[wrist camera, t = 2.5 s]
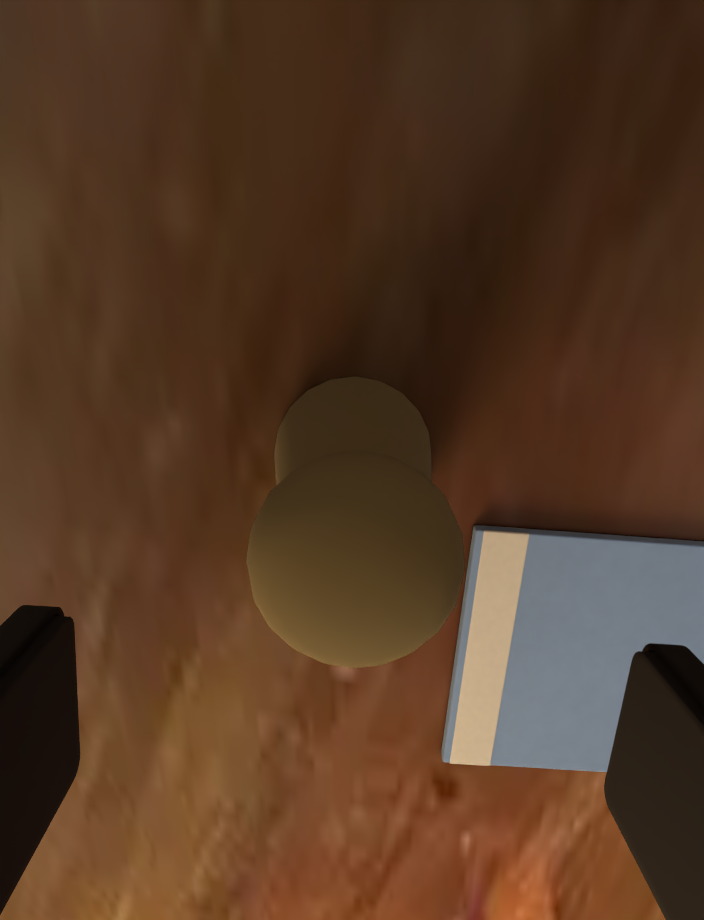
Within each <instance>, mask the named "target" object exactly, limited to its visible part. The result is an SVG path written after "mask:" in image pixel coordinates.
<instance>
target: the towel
mask: <svg viewBox="0 0 704 920" xmlns="http://www.w3.org/2000/svg"><path fill="white" fill-rule="evenodd" d="M649 643H654V644H671V645H683V646H686V647H687V648H688V649H690V650H691V651H692V653H693V654H694V655H695V656H696V657H697V658H698V659H699V660H700V661H701V662H702V663H703V664H704V541H691V540H677V539H663V538H649V537H635V536H621V535H607V534H593V533H579V532H565V531H551V530H537V529H525V528H512V527H498V526H484V525H482V526H481V525H474V526H473V533H472V540H471V547H470V554H469V561H468V568H467V575H466V582H465V589H464V596H463V603H462V610H461V617H460V624H459V631H458V638H457V645H456V652H455V659H454V666H453V673H452V680H451V687H450V694H449V701H448V708H447V715H446V722H445V729H444V736H443V743H442V750H441V754H442V760H443V762H450V763H452V764H468V765H485V766H490V765H499V766H516V767H532V768H548V769H564V770H581V771H597V772H607V769H608V765H609V760H610V756H611V751H612V747H613V742H614V738H615V733H616V729H617V725H618V720H619V716H620V711H621V707H622V702H623V698H624V693H625V689H626V684H627V680H628V675H629V671H630V666H631V662H632V658H633V656H634V654H635V653H636V652H638V651H642V650H643V648H644V647H645V645H647V644H649Z"/></svg>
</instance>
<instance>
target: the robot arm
mask: <svg viewBox="0 0 704 920" xmlns="http://www.w3.org/2000/svg"><path fill="white" fill-rule="evenodd" d="M79 760H80V741H79V720H78V698H77V676H76V654H75V632H74V622H73V619H72V618H71V617H64V613H63V611H62V609H61V608H60V607H48V606H32V605H22V606H21V607H19V608H18V609H17V610H16V611H15V612H14V613H13V614H12V615H11V616H10V617H9V618H8V619H7V620H6V621H5V622H4V623H3V624H2V625H1V626H0V914H1V913H2V911H3V909H4V907H5V905H6V903H7V902H8V900H9V898H10V896H11V894H12V892H13V891H14V889H15V887H16V885H17V883H18V881H19V880H20V878H21V876H22V874H23V872H24V870H25V869H26V867H27V865H28V863H29V861H30V859H31V858H32V856H33V854H34V852H35V850H36V848H37V847H38V845H39V843H40V841H41V839H42V837H43V836H44V834H45V832H46V830H47V828H48V826H49V825H50V823H51V821H52V819H53V817H54V815H55V814H56V812H57V810H58V808H59V806H60V805H61V803H62V801H63V799H64V797H65V795H66V794H67V792H68V790H69V788H70V786H71V784H72V783H73V781H74V778H75V776H76V773H77V770H78V766H79ZM604 791H605V798H606V802H607V805H608V807H609V810H610V812H611V814H612V815H613V817H614V819H615V821H616V823H617V825H618V827H619V829H620V831H621V833H622V835H623V837H624V839H625V841H626V843H627V845H628V847H629V849H630V851H631V852H632V854H633V856H634V858H635V860H636V862H637V864H638V866H639V868H640V870H641V872H642V874H643V876H644V878H645V880H646V882H647V884H648V886H649V888H650V889H651V891H652V893H653V895H654V897H655V899H656V901H657V903H658V905H659V907H660V909H661V911H662V913H663V915H664V917H665V919H666V920H704V664H703V663H702V662H701V661H700V660H699V659H698V658H697V657H696V656H695V655H694V654H693V653H692V651H691V650H690V649H688V648H687V647H686V646H683V645H671V644H654V643H649V644H647V645H645V647H644V648H643V650H642V651H638V652H636V653H635V654H634V656H633V658H632V662H631V666H630V671H629V675H628V680H627V684H626V689H625V693H624V698H623V702H622V707H621V711H620V716H619V720H618V725H617V729H616V733H615V738H614V742H613V747H612V751H611V756H610V760H609V765H608V769H607V774H606V778H605V785H604Z"/></svg>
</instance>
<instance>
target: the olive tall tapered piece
mask: <svg viewBox="0 0 704 920" xmlns="http://www.w3.org/2000/svg"><path fill="white" fill-rule="evenodd" d="M274 456H275V474H276V487H274V488H273V489H272V490H271V491H270V493H269V494H268V496H267V498H266V500H265V502H264V504H263V506H262V507H261V509H260V511H259V513H258V515H257V517H256V519H255V521H254V523H253V525H252V527H251V532H250V538H249V545H248V551H247V558H246V562H247V567H248V572H249V577H250V583H251V588H252V593H253V598H254V602H255V603H256V605H257V607H258V608H259V610H260V612H261V614H262V615H263V617H264V619H265V621H266V622H267V624H268V626H269V627H270V628H271V629H272V630H273V631H274V632H275V633H276V634H277V635H279V636H280V637H281V638H282V639H283V640H284V641H285V642H286V643H287V644H289V645H290V646H291V647H292V648H293V649H295V650H297V651H298V652H301V653H303V654H305V655H307V656H309V657H311V658H313V659H316V660H318V661H320V662H322V663H324V664H330V665H336V666H342V667H348V668H361V667H369V666H378V665H384V664H386V663H389V662H391V661H394V660H396V659H398V658H401V657H403V656H406V655H408V654H410V653H412V652H413V651H415V650H416V649H417V648H419V647H420V646H421V645H422V644H423V643H425V642H426V641H427V640H428V639H430V638H431V637H432V636H433V635H435V634H436V633H437V632H438V631H439V630H440V629H441V627H442V626H443V624H444V623H445V621H446V620H447V618H448V617H449V615H450V613H451V612H452V610H453V609H454V607H455V606H456V603H457V599H458V595H459V592H460V588H461V584H462V580H463V576H464V570H465V558H464V546H463V535H462V532H461V530H460V527H459V525H458V523H457V521H456V519H455V516H454V514H453V512H452V510H451V508H450V506H449V503H448V501H447V499H446V497H445V496H444V495H443V494H442V493H441V492H440V491H439V489H438V488H437V487H436V486H435V485H434V484H433V483H432V482H431V447H430V437H429V432H428V429H427V427H426V425H425V423H424V421H423V418H422V416H421V414H420V412H419V410H418V409H417V408H416V407H415V406H414V405H413V404H412V403H411V402H410V401H409V400H408V399H407V397H406V396H405V395H404V394H403V393H401V392H400V391H398V390H396V389H394V388H392V387H390V386H389V385H387V384H385V383H383V382H381V381H378V380H372V379H367V378H362V377H356V376H354V377H346V378H339V379H331V380H328V381H326V382H324V383H322V384H320V385H318V386H316V387H314V388H311V389H309V390H307V391H306V392H305V393H304V394H303V395H302V396H301V397H300V398H299V399H298V400H297V401H296V402H295V403H294V404H293V405H292V406H291V407H289V409H288V411H287V413H286V415H285V417H284V419H283V421H282V423H281V425H280V426H279V428H278V433H277V439H276V445H275V452H274Z"/></svg>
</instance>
